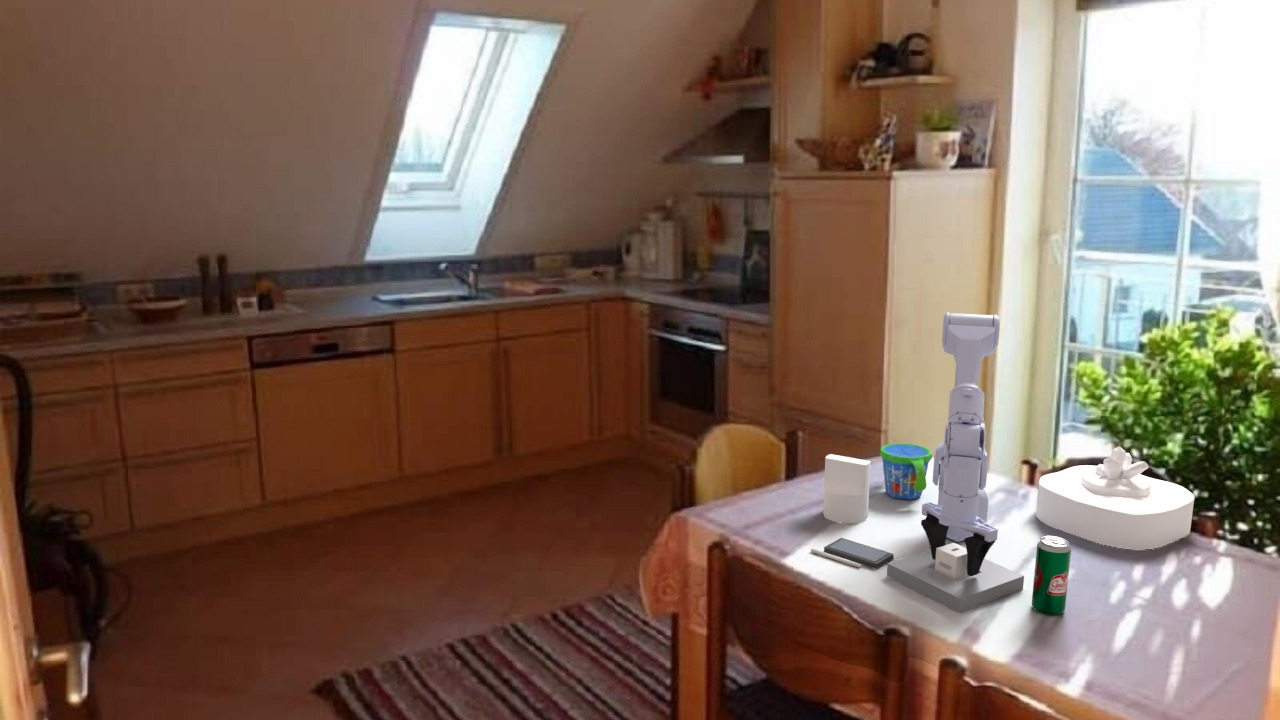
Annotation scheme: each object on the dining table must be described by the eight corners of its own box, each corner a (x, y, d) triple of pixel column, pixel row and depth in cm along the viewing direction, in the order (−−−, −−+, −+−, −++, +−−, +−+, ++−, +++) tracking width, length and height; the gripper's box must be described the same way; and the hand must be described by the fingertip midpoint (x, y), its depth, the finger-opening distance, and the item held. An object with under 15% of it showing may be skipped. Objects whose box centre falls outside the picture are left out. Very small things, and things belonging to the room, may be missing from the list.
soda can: (1050, 619, 155) (1056, 549, 152) (1024, 606, 159) (1030, 538, 156) (1071, 612, 157) (1078, 543, 154) (1045, 599, 161) (1052, 532, 159)
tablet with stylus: (832, 539, 186) (833, 534, 186) (893, 558, 177) (893, 553, 177) (810, 552, 180) (810, 546, 180) (871, 572, 172) (871, 566, 171)
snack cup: (868, 482, 217) (871, 439, 215) (914, 481, 218) (917, 438, 215) (890, 508, 202) (893, 462, 200) (940, 507, 202) (943, 461, 200)
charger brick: (951, 572, 171) (953, 542, 169) (971, 581, 167) (974, 550, 166) (933, 578, 168) (936, 547, 167) (954, 587, 165) (956, 556, 163)
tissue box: (1207, 529, 191) (1217, 452, 188) (1135, 558, 178) (1145, 475, 174) (1090, 492, 212) (1097, 421, 208) (1018, 516, 198) (1024, 440, 195)
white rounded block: (873, 512, 200) (876, 457, 197) (858, 527, 192) (861, 469, 190) (832, 504, 204) (835, 450, 202) (816, 517, 197) (818, 461, 194)
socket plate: (948, 555, 179) (949, 543, 178) (1023, 588, 165) (1024, 575, 165) (886, 576, 170) (887, 563, 170) (959, 612, 157) (960, 598, 157)
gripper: (911, 483, 168) (906, 556, 171) (979, 509, 156) (973, 587, 159) (939, 476, 172) (934, 547, 175) (1008, 501, 160) (1001, 577, 163)
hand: (955, 566), depth 167 cm, fingers open, 7 cm apart
